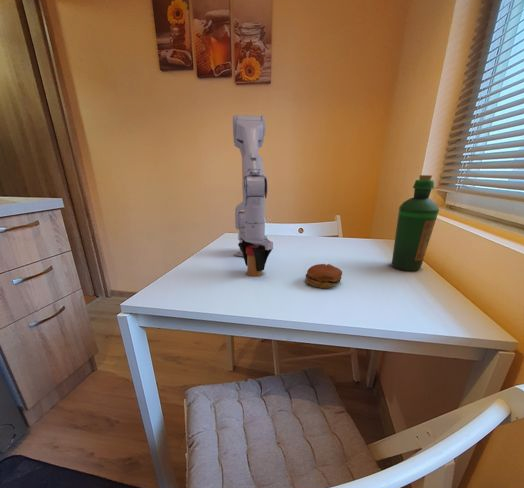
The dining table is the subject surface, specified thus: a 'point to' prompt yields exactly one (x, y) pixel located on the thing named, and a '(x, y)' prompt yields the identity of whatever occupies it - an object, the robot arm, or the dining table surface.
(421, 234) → the bottle
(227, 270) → the dining table surface
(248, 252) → the jar lid
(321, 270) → the burger
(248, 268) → the honey jar
